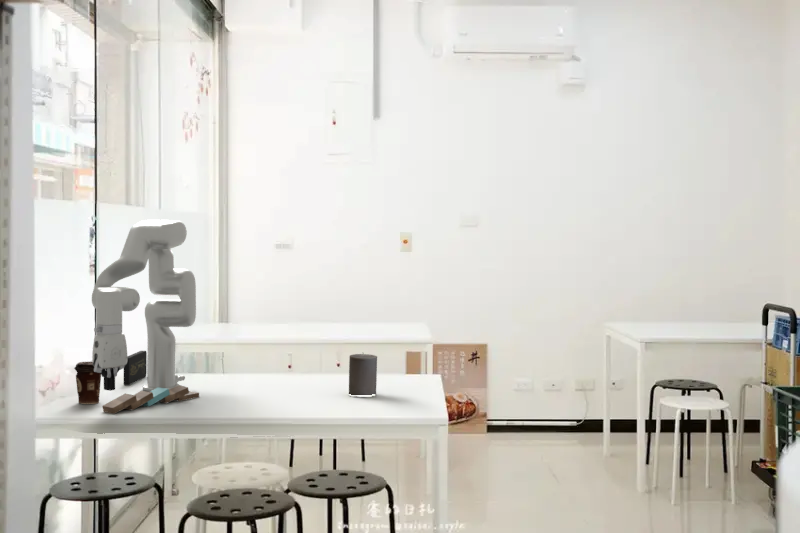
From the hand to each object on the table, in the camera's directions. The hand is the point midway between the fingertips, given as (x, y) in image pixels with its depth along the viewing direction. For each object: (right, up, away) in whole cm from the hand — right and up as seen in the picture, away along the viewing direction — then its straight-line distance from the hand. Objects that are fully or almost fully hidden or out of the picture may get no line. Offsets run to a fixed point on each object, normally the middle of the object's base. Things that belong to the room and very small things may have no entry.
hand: (109, 389), depth 273 cm
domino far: (0, -6, 0) cm, 6 cm away
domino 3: (+11, -6, +18) cm, 22 cm away
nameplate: (-10, -5, +59) cm, 60 cm away
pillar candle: (+76, -7, +36) cm, 84 cm away
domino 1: (+3, -6, +5) cm, 9 cm away
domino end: (+14, -6, +22) cm, 27 cm away
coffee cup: (-12, -7, +15) cm, 20 cm away
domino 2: (+7, -6, +12) cm, 15 cm away
